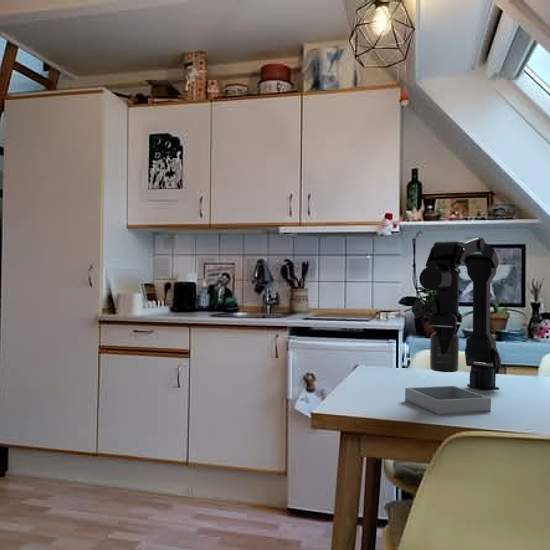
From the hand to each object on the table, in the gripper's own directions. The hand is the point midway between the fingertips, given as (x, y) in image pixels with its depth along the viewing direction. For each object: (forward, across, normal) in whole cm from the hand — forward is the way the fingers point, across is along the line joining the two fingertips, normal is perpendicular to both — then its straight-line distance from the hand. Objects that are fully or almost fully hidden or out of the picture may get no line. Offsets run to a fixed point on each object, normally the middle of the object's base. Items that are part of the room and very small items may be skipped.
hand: (445, 352), depth 131 cm
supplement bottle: (+5, 0, 0) cm, 5 cm away
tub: (+13, +1, +1) cm, 13 cm away
